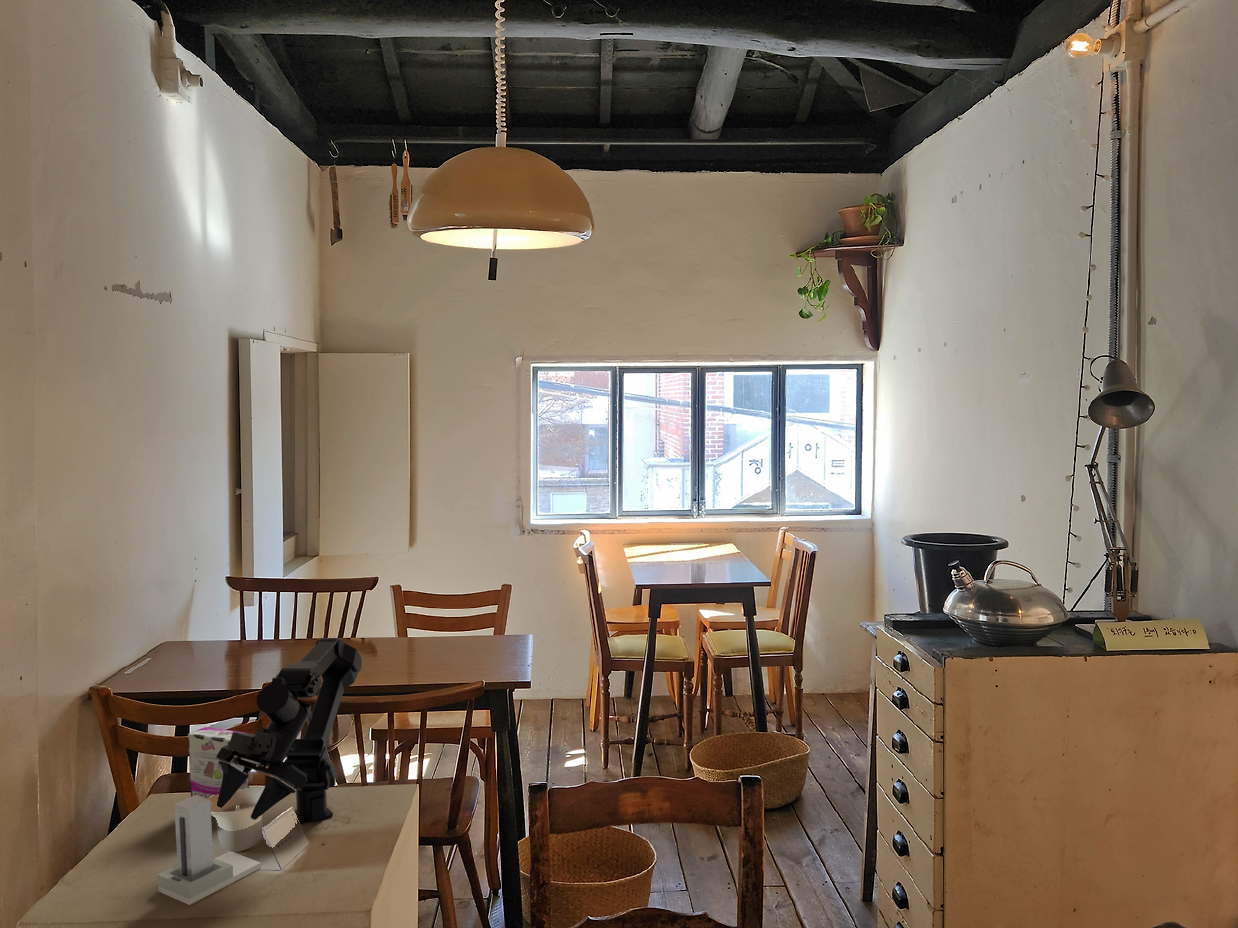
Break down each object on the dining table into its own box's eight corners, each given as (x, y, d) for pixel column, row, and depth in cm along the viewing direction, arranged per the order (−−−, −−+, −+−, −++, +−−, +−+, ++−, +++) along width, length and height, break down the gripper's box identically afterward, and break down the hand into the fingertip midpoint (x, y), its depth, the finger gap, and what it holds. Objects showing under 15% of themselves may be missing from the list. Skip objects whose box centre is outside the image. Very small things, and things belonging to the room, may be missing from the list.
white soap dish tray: (230, 856, 172) (229, 839, 172) (260, 867, 168) (260, 851, 167) (158, 891, 160) (157, 873, 160) (189, 904, 156) (188, 886, 156)
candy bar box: (251, 811, 191) (248, 731, 189) (233, 821, 186) (229, 740, 185) (209, 802, 195) (205, 725, 194) (190, 812, 190) (186, 733, 189)
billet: (199, 872, 164) (195, 794, 163) (213, 879, 162) (210, 799, 161) (177, 883, 161) (173, 803, 160) (191, 890, 159) (187, 809, 157)
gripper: (221, 703, 175) (171, 783, 167) (289, 721, 166) (240, 807, 158) (259, 729, 183) (213, 807, 175) (327, 748, 173) (281, 831, 165)
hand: (235, 812), depth 168 cm, fingers open, 9 cm apart
